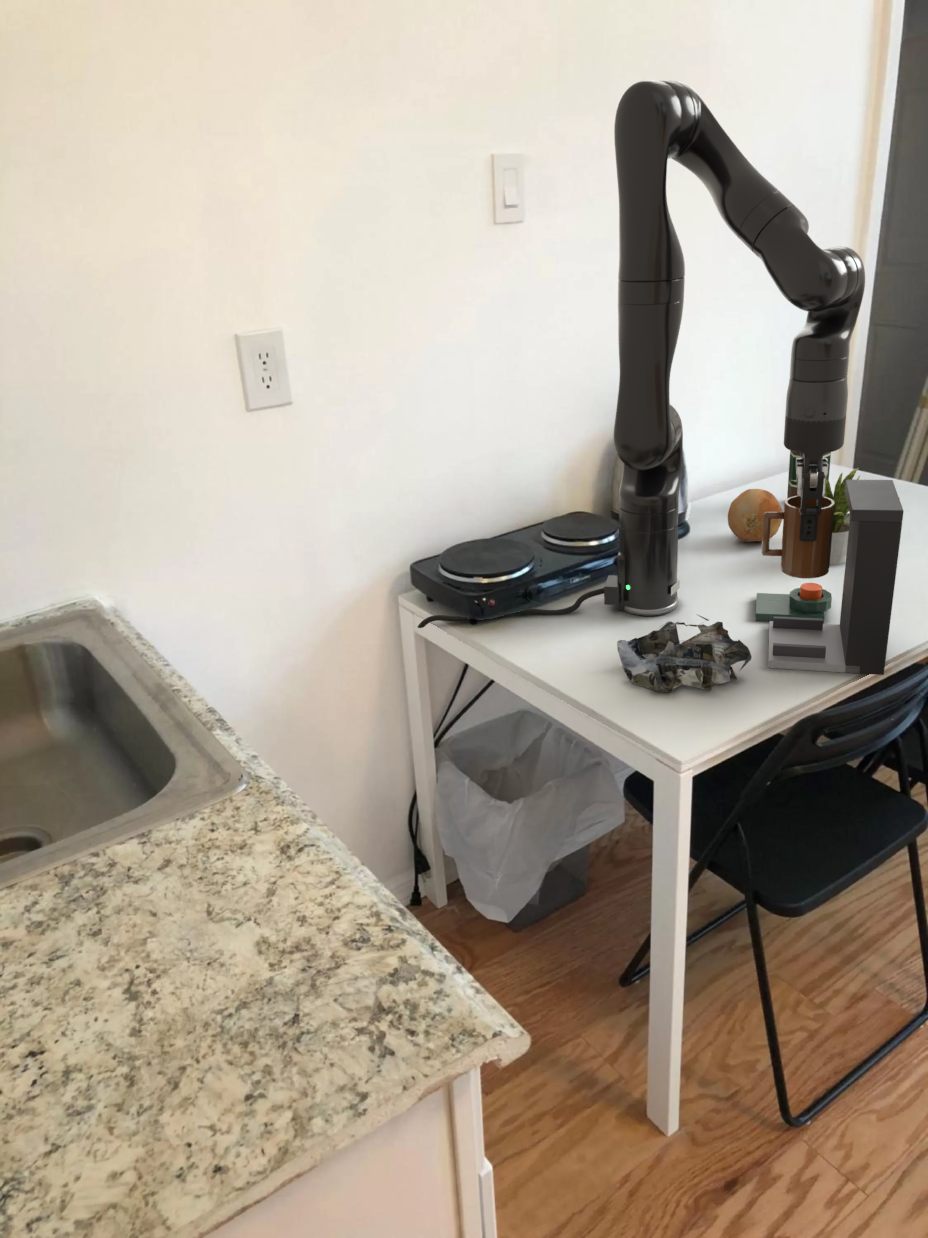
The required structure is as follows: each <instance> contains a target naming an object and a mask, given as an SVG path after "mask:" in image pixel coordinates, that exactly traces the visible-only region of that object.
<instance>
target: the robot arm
mask: <svg viewBox="0 0 928 1238" xmlns="http://www.w3.org/2000/svg"><path fill="white" fill-rule="evenodd" d="M613 136H614V137H613V139H614V140H613V141H614V154H615V165H616V166H615V167H616V178H617V192H618V193H617V194H618V274H617V279H618V280H617V326H618V327H617V332H618V333H617V335H618V338H617V339H618V340H617V341H618V361H619V381H618V391H617V402H616V409H615V417H614V426H613V433H612V441H613V447H614V450H615V453H616V455H617V456H618V458H619V460H620V461H621V462H622V467H623V468H622V475H621V481H620V485H619V487H618V488H619V489H618V553H617V556H616V574H617V575H614V574H613V575H610V574H609V575H608V576H607V578H606V581H605V583H604V585H603V587H602V588H598V589H594V590H591V591H588V592H586V593H584V594H582V595H580V596H579V597H578V598H577V599H576V601H575V602H574V603H573V604H572V605H569V606H568V607H564V608H560V609H542V608H531V607H530V608H529V607H528V608H529V609H526V610H523V611H520V612H516V613H513V614H510V615H509V616H511V615H537V616H538V615H539V616H557V615H558V616H559V615H566V614H570V613H572V612H575V611H576V610H578V609H579V608H580V607H581V605H582V604H583V602H584V601H586V600H588V599H590V598H593V597H597V596H599V595H603V601H604V602H603V603H604V605H607V606H617V611H621V612H622V611H623V612H626V613H628V614H631V615H637V616H643V617H645V616H646V617H647V616H649V617H651V616H660V615H665V614H668V613H670V612H673V611H674V610H675V609H676V608H677V607H678V600H679V599H678V590H679V589H680V588H681V583H680V582H681V579H678V561H679V560H678V559H679V558H678V557H679V555H678V554H679V553H678V552H679V548H678V547H679V496H680V495H679V494H680V489H681V484H682V471H683V447H684V445H683V442H684V440H683V439H684V432H683V431H684V429H683V423H682V419H681V416H680V414H679V413H678V410H676V408H675V407H674V406H673V405H672V404H671V403H670V384H671V383H670V381H671V371H672V365H673V361H674V357H675V352H676V348H677V344H678V340H679V335H680V330H681V325H682V319H683V312H684V304H685V303H684V302H685V283H686V281H685V276H686V264H685V257H684V252H683V249H682V246H681V245H682V244H681V243H680V239H679V236H678V234H677V231H676V229H675V225H674V223H673V220H672V217H671V213H670V210H669V205H668V197H667V178H668V177H667V174H668V173H667V172H668V169H667V168H668V159H672V160H673V161H675V162H676V163H678V164H680V165H681V166H683V167H684V168H685V169H687V170H688V171H690V172H691V173H692V174H694V176H695V177H697V178H698V180H700V182H701V183H702V184H703V185H704V187H705V188H706V190H707V191H708V193H709V194H710V196H711V198H712V201H713V203H714V205H715V207H716V209H717V211H718V213H719V215H720V217H721V219H722V220H723V222H724V224H725V225H726V226H727V227H728V228H729V230H730V231H731V232H732V233H733V234H734V236H736V237H737V238H738V239H739V240H740V241H741V242H742V244H744V245H745V246H746V247H747V248H748V249H749V250H750V251H751V252H752V253H753V254H754V255H755V256H756V257H757V258H758V259H760V260H761V262H762V263H763V265H764V267H765V269H766V272H767V273H768V275H769V276H770V278H771V279H772V281H773V283H774V284H775V286H776V287H777V289H778V291H780V293H781V294H782V296H783V297H784V298H785V299H786V300H787V301H788V302H789V303H790V304H792V305H793V306H794V307H796V308H798V309H799V310H801V311H804V312H807V315H806V319H805V324H804V326H803V327H802V328H801V330H799V331H798V332H797V333H796V334H795V336H794V338H793V340H792V344H791V351H790V363H789V364H790V365H789V380H788V386H787V391H786V397H785V415H784V432H783V446H784V447H785V448H786V449H787V450H788V451H790V450H791V451H794V452H801V458H796V476H797V477H796V485H797V486H798V488H797V496H798V498H800V499H801V508H800V509H799V512H800V515H801V520H800V534H799V538H800V540H801V541H807V542H814V541H816V539H817V530H818V517H819V515H821V512H822V509H821V507H822V498H823V497H824V495H825V481H826V476H827V474H828V464H827V458H823V454H824V453H826V452H831V453H833V452H836V451H838V450H840V449H842V448H843V446H844V444H845V435H846V434H845V433H846V422H847V411H848V409H847V408H848V400H849V399H848V398H849V389H848V388H849V386H848V375H849V363H850V351H851V350H850V349H851V348H850V347H851V346H850V345H851V340H852V336H853V333H854V330H855V327H856V324H857V322H858V318H859V313H860V310H861V306H862V303H863V298H864V293H865V287H866V270H865V264H864V262H863V259H862V258H861V256H860V255H859V254H858V253H857V251H855V250H854V249H852V248H850V247H848V246H843V245H842V246H840V245H839V246H834V247H828V248H823V249H822V248H821V247H819V245H818V244H816V243H815V242H814V240H813V239H812V238H811V237H810V236H809V234H808V233H809V229H810V224H809V221H808V219H807V217H806V215H805V214H804V213H803V212H802V211H801V210H800V209H799V208H798V207H797V206H796V205H795V204H794V203H793V202H792V201H791V200H790V199H789V198H788V197H787V196H785V194H783V192H781V191H780V190H779V189H778V188H777V186H775V185H774V184H773V183H772V182H771V181H769V179H768V178H767V177H765V176H764V175H763V174H762V173H761V172H760V171H759V170H758V169H757V167H755V166H754V164H753V163H752V162H751V161H750V160H749V159H748V157H746V155H745V154H743V152H742V151H741V149H740V148H739V147H738V146H737V145H736V143H735V142H734V141H733V139H732V138H731V137H730V136H729V135H728V133H727V132H726V130H725V129H724V128H723V126H721V124H720V123H719V121H718V120H717V119H716V117H715V115H714V114H713V112H712V111H711V109H710V108H709V107H708V105H707V103H705V101H704V100H703V98H702V97H701V96H700V94H699V93H698V92H697V90H695V89H694V88H693V87H692V86H691V85H689V84H687V83H685V82H682V81H678V80H657V79H655V80H654V79H645V80H644V79H643V80H638V81H636V82H634V83H631V85H629V86H628V87H627V88H626V89H625V91H624V92H623V93H622V95H621V96H620V98H619V101H618V103H617V106H616V109H615V114H614V124H613ZM807 499H816V506H806V500H807ZM461 616H462V615H447V614H434V615H431V616H428V617H425V619H423V620H422V621H421V622H420V623H419V624H418V625H417V628H418V629H423V628H425V627H426V626H427V625H428V624H430V623H432V622H433V623H434V622H439V621H443V622H465V621H466V622H467V621H471V620H470V619H468V618H467V617H461Z"/></svg>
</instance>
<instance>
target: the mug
mask: <svg viewBox="0 0 928 1238" xmlns="http://www.w3.org/2000/svg"><path fill="white" fill-rule="evenodd" d="M806 506H816V499H807V500H806ZM834 507H835V502H834V500H832V499H830V498H827V497H823V498H822V507H821V509H822V512H821V515H819V517H818V530H817V539H816V541H814V542H807V541H801V540H800V538H799V534H800V520H801V515H800V512H799V509H800V508H801V499H800V498H798V496H793V497H790V498H788V499H787V498H786V499H785V500H784V507H783V511H782V512H765V513H764V515H763V534H762V541H761V555H762V556H764V557H780V571H781V572H782V573H783V574H784V575H786V576H788V577H792V578H797V579H816V578H817V579H818V578H821V577H824V576H826V575H828V573H829V572H830V566H831V565H830V555H831V543H832V531H833V519H834ZM771 519H782V522H783V523H782V540H781V548H770V543H771V541H770V540H771V538H770V525H771Z"/></svg>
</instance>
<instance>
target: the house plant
mask: <svg viewBox="0 0 928 1238" xmlns="http://www.w3.org/2000/svg"><path fill="white" fill-rule="evenodd" d="M858 470H859V467H856V468H854V469H852V470H851V471H850V472H849V473H848V474H847V475H846V476H845V477H844V479H843V472H841V473H840V474H839V477H838V479H837V481H836V483H835V485H834V491H832V487H831V483H830V480H829V481H828V479H827V478H826V482H825V497H827V498H830V499H832V500H834V502H835V507H834V519H833V531H832V543H831V555H830V566H836V565H841V564H843V563H845V562H846V553H847V543H848V533H849V522H847V521H849V520H845V519H846V518H847V517H848V516H849V515H850V514H848V513H849V507H848V502H847V498H846V493H845V484H846V480H854V477H855V476H856V473H857V471H858ZM860 477H861V475H858V477H857V478H856V480H860ZM791 481H795V480H791ZM846 514H848V515H847V517H846V518H845V519H844V517H845V516H846ZM843 519H844V520H845V521H844V520H843Z"/></svg>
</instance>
